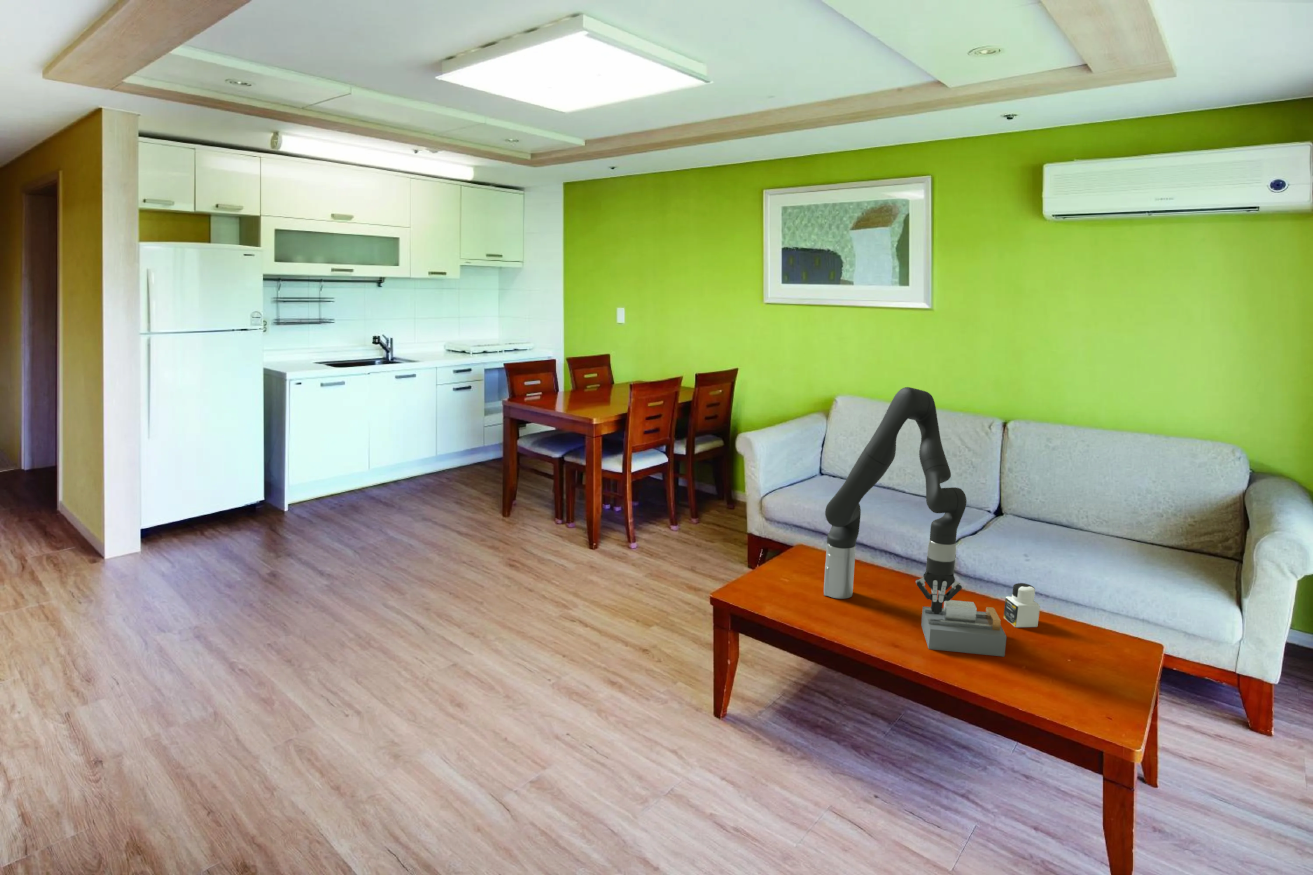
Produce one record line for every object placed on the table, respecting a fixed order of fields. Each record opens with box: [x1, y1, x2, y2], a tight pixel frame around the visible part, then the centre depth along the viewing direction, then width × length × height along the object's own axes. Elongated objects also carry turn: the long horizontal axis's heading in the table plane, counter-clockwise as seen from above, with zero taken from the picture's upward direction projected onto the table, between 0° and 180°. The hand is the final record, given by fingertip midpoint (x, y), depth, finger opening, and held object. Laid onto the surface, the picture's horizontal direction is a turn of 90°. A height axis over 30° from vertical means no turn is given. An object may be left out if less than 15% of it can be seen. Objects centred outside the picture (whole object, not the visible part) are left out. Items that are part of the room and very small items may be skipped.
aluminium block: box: [943, 599, 978, 623], centre depth 222 cm, size 8×5×5 cm, turn 78°
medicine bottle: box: [1003, 582, 1041, 628], centre depth 234 cm, size 7×7×12 cm
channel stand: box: [920, 606, 1007, 657], centre depth 222 cm, size 20×16×9 cm
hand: (935, 612), depth 223 cm, fingers closed
